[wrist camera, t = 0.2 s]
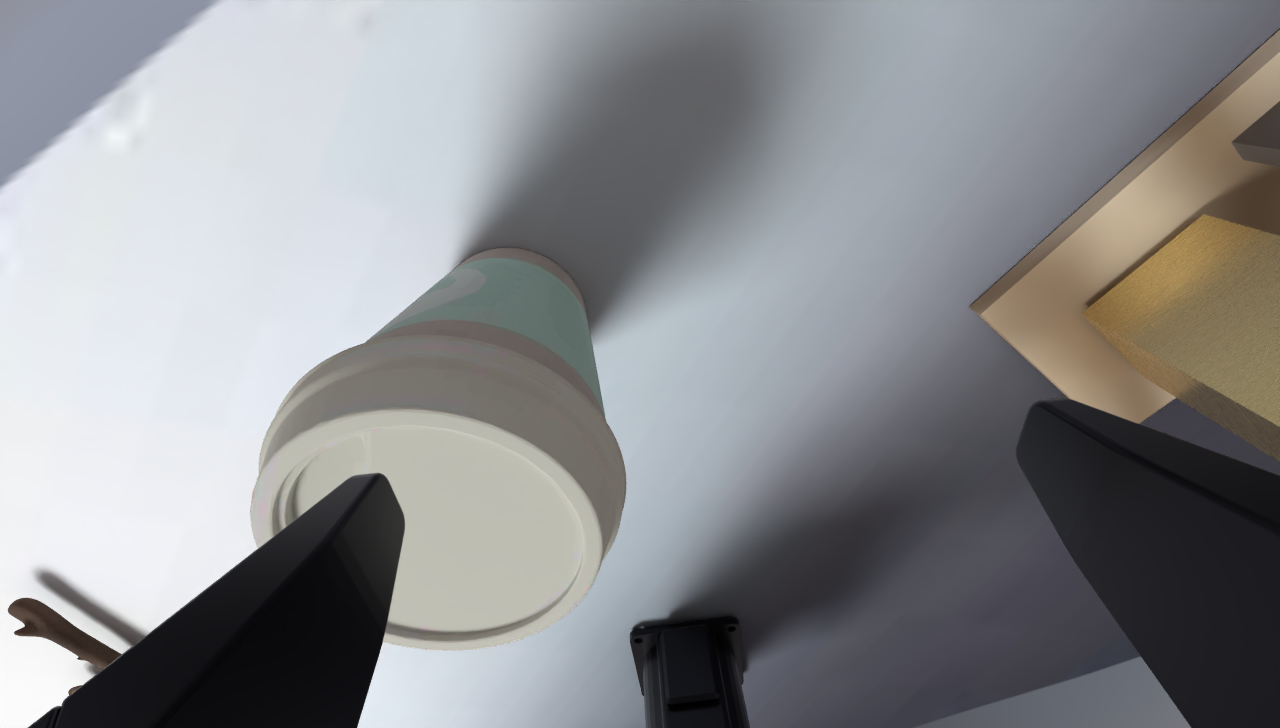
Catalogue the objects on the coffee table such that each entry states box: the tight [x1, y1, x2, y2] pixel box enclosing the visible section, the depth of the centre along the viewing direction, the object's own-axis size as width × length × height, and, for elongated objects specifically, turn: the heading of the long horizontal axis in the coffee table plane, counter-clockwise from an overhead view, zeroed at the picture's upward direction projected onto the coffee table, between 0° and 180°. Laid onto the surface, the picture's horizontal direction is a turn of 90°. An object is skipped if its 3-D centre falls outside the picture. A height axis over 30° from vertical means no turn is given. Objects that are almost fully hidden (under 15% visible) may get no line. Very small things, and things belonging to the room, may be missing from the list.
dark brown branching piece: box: [8, 598, 122, 695], centre depth 31 cm, size 18×4×14 cm
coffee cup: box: [250, 248, 626, 651], centre depth 17 cm, size 9×9×12 cm
